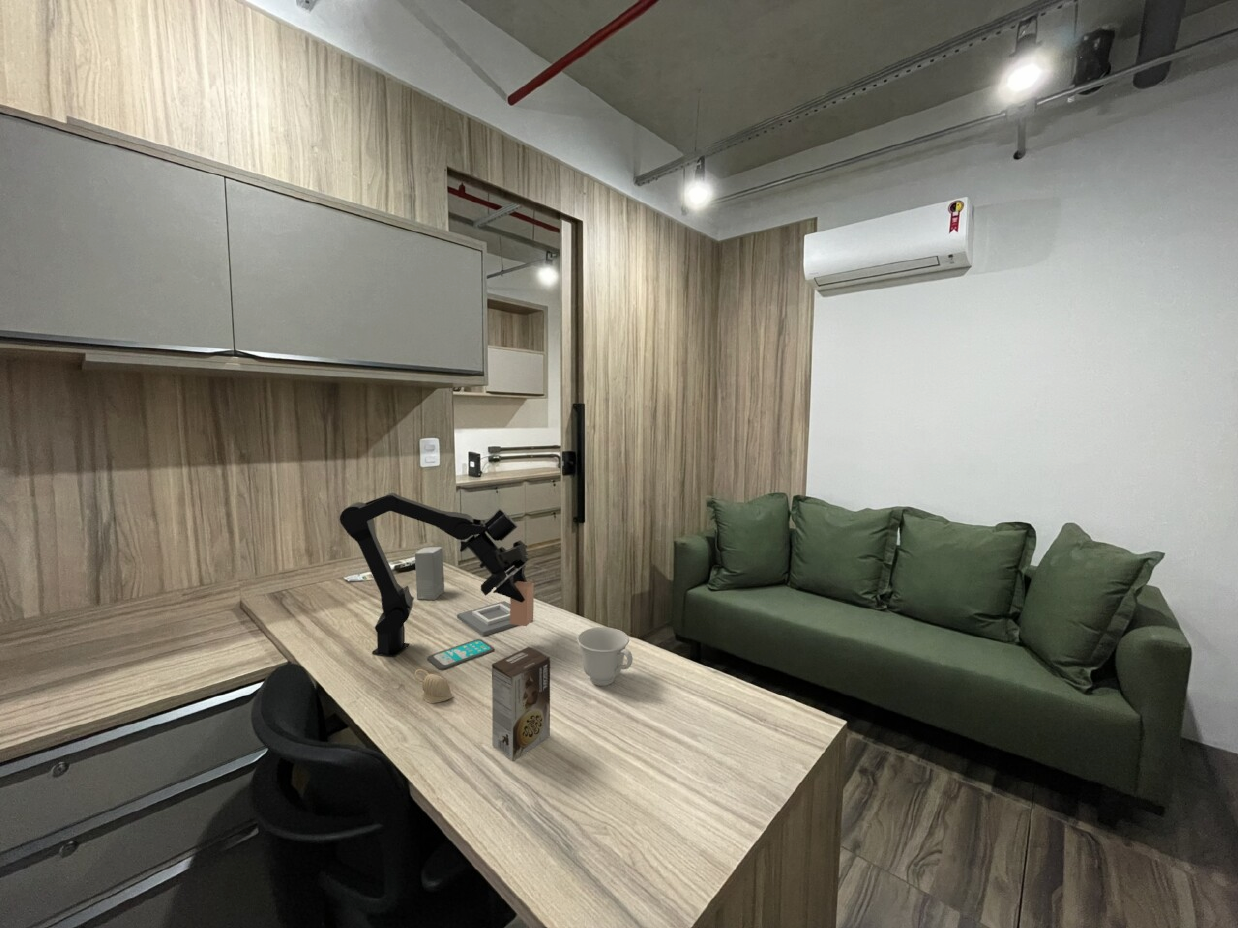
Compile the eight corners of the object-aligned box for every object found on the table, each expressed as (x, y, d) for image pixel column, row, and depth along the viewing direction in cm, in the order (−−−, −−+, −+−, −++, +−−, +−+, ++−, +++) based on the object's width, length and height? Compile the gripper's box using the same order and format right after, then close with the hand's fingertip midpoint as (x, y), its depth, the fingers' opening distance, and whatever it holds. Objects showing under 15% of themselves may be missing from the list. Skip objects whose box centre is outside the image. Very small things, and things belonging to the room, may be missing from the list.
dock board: (483, 636, 133) (483, 628, 133) (457, 617, 145) (457, 610, 144) (532, 620, 144) (532, 613, 144) (504, 604, 156) (504, 598, 155)
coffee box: (528, 722, 96) (529, 645, 95) (550, 736, 92) (552, 656, 91) (490, 745, 89) (490, 662, 88) (512, 762, 85) (513, 675, 84)
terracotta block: (526, 626, 125) (527, 588, 124) (510, 624, 125) (510, 586, 124) (533, 618, 129) (533, 582, 128) (517, 617, 130) (517, 581, 129)
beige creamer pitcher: (440, 707, 101) (439, 682, 100) (411, 695, 104) (411, 672, 104) (454, 697, 104) (454, 673, 104) (426, 686, 108) (426, 663, 108)
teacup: (610, 705, 103) (612, 661, 102) (565, 678, 113) (566, 637, 112) (647, 684, 111) (649, 642, 110) (602, 660, 122) (603, 622, 121)
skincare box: (435, 600, 157) (435, 553, 156) (413, 599, 157) (413, 552, 156) (445, 591, 166) (445, 546, 164) (424, 590, 166) (424, 545, 164)
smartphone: (424, 655, 120) (479, 637, 131) (424, 659, 120) (479, 640, 131) (440, 668, 114) (496, 648, 125) (440, 672, 115) (496, 652, 125)
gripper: (492, 542, 117) (535, 591, 116) (522, 525, 135) (559, 567, 134) (462, 571, 119) (504, 619, 118) (495, 551, 137) (532, 592, 136)
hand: (527, 597), depth 126 cm, fingers closed on terracotta block, 5 cm apart
